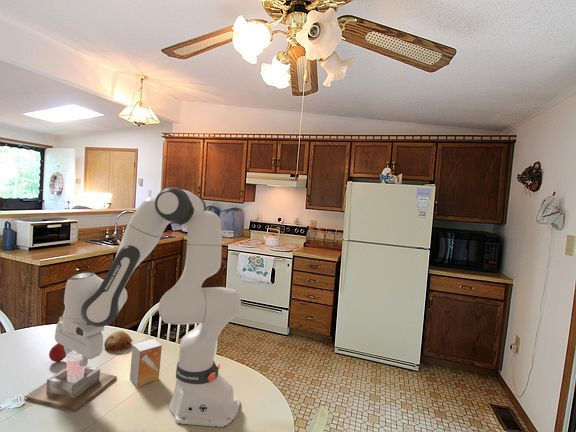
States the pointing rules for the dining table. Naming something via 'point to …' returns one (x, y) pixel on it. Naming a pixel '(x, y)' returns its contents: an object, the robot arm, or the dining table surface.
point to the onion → (57, 353)
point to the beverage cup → (74, 367)
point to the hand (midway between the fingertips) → (76, 361)
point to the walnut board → (71, 389)
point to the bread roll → (118, 341)
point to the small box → (145, 362)
